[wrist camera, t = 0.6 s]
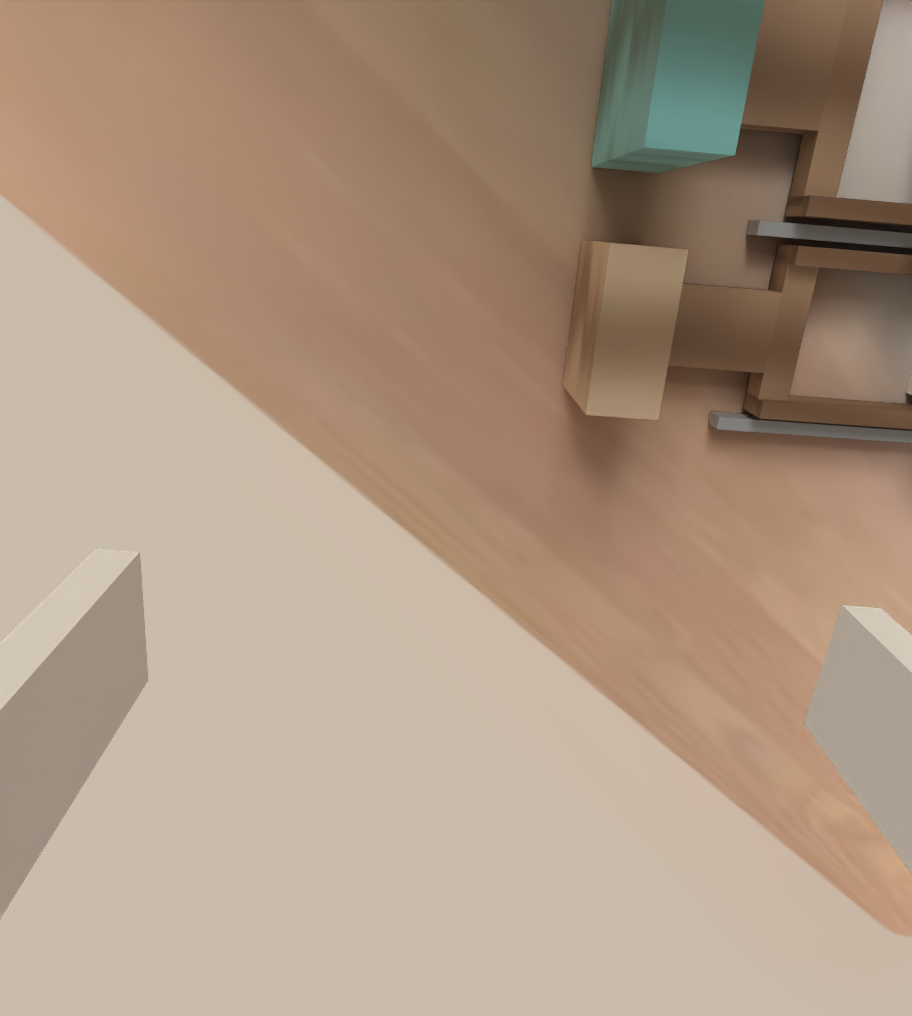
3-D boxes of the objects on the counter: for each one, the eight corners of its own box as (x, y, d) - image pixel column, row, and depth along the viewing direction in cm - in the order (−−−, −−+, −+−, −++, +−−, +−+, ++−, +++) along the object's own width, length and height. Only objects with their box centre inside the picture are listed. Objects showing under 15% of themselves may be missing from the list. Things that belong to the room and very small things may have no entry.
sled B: (583, 228, 33) (612, 228, 28) (1135, 274, 35) (1270, 283, 29) (561, 395, 36) (584, 426, 30) (1074, 432, 37) (1187, 469, 32)
